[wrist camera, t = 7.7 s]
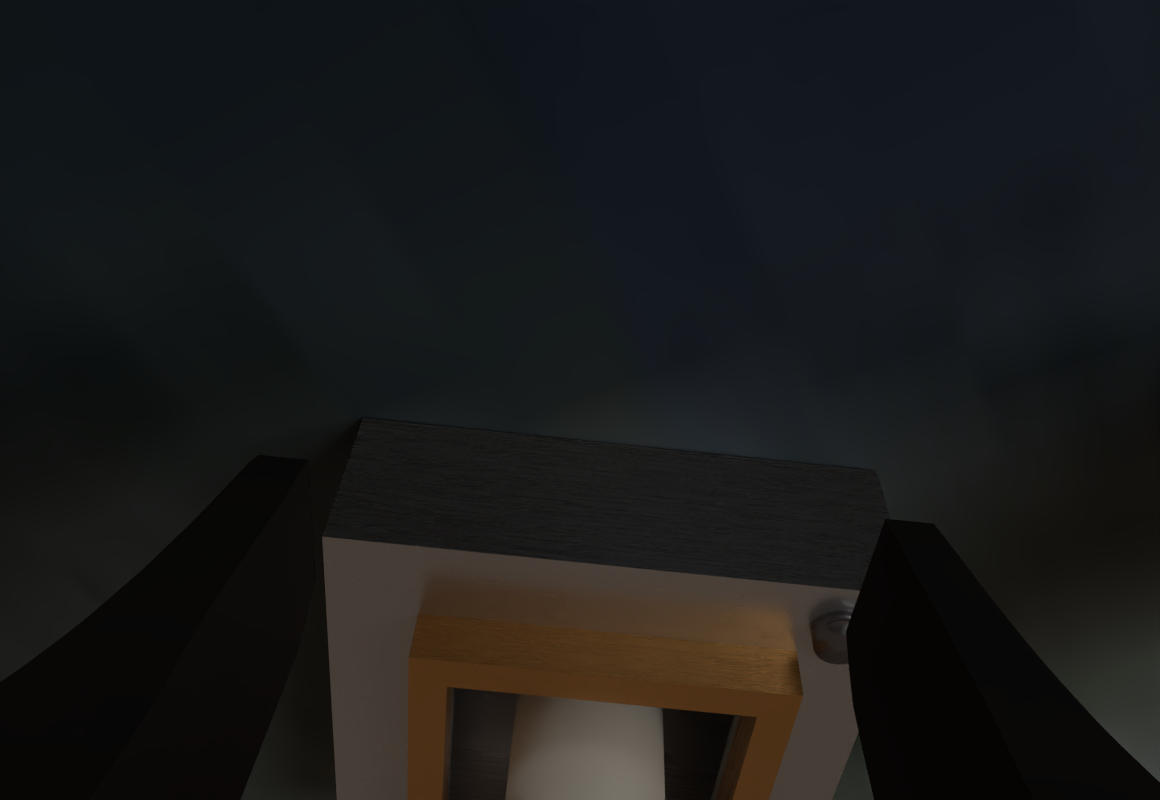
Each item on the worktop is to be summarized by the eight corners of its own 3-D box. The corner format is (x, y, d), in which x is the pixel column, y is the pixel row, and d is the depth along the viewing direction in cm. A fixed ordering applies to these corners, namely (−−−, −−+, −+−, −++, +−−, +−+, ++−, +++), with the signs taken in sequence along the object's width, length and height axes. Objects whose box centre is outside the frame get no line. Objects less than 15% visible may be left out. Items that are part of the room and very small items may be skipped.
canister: (689, 634, 28) (701, 868, 23) (603, 704, 30) (597, 937, 25) (572, 565, 27) (557, 796, 22) (490, 643, 29) (457, 874, 23)
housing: (876, 470, 25) (924, 641, 21) (773, 780, 32) (794, 954, 28) (362, 418, 25) (307, 579, 21) (370, 742, 32) (330, 912, 28)
